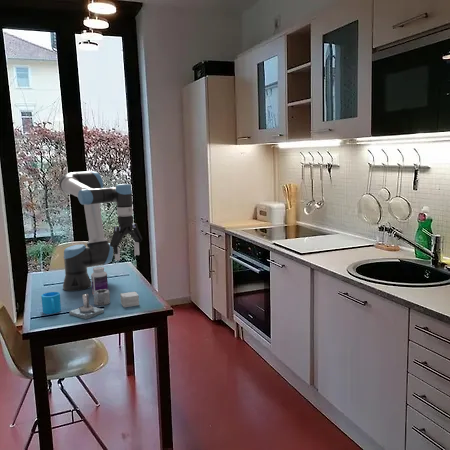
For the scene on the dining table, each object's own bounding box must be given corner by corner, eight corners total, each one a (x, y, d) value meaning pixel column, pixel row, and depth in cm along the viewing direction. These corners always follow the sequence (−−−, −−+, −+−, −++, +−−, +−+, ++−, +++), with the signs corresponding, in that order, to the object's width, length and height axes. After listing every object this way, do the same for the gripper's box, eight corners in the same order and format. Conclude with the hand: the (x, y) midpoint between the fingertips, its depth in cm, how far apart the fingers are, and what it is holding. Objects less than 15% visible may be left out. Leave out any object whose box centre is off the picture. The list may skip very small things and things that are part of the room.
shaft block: (69, 314, 208) (67, 295, 207) (87, 308, 216) (85, 290, 215) (86, 319, 201) (84, 299, 200) (104, 312, 209) (102, 293, 208)
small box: (136, 301, 226) (135, 291, 225) (139, 305, 219) (138, 295, 218) (120, 303, 223) (120, 293, 223) (123, 307, 216) (122, 297, 215)
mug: (41, 310, 216) (40, 293, 214) (59, 307, 219) (58, 290, 218) (44, 317, 205) (43, 300, 204) (63, 314, 209) (62, 297, 208)
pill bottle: (111, 293, 239) (109, 267, 237) (100, 297, 232) (99, 270, 230) (100, 291, 243) (98, 265, 241) (89, 296, 236) (87, 269, 234)
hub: (91, 304, 223) (90, 292, 222) (103, 300, 228) (102, 288, 228) (101, 306, 219) (100, 294, 218) (112, 302, 224) (112, 290, 223)
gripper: (111, 219, 211) (114, 263, 214) (148, 212, 232) (150, 253, 235) (100, 218, 215) (103, 261, 218) (137, 212, 236) (139, 252, 239)
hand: (127, 257), depth 227 cm, fingers open, 13 cm apart
